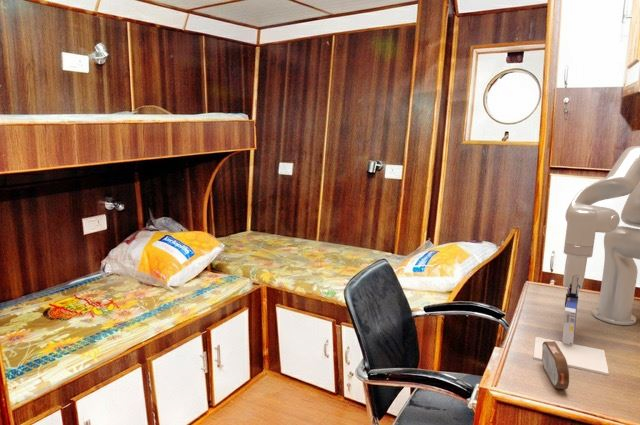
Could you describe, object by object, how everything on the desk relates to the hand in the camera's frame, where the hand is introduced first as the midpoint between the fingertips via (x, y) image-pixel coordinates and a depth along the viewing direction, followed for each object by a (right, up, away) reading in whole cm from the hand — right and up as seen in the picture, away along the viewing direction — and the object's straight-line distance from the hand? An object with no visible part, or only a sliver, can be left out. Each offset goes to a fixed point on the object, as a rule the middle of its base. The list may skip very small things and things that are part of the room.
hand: (570, 307), depth 139 cm
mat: (-6, -12, -10) cm, 16 cm away
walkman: (-1, -9, -2) cm, 9 cm away
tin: (-16, -14, -21) cm, 30 cm away
